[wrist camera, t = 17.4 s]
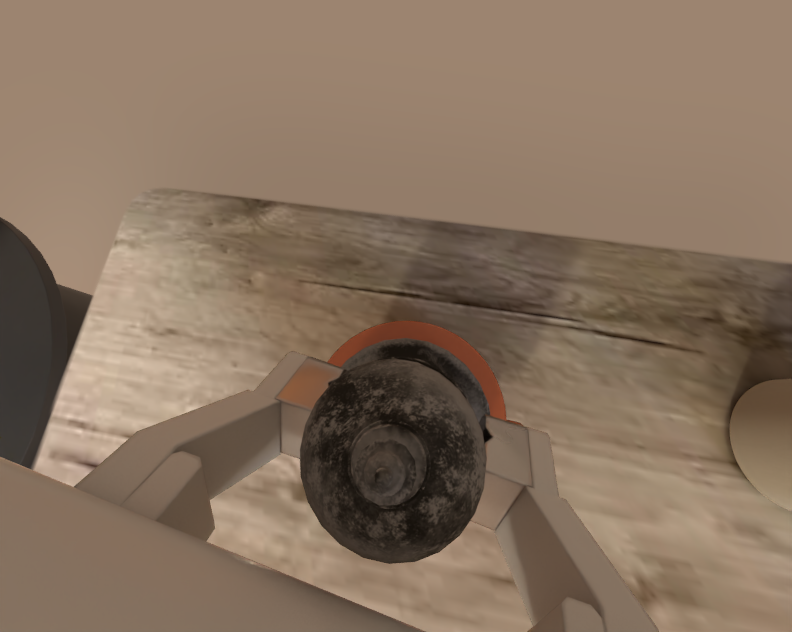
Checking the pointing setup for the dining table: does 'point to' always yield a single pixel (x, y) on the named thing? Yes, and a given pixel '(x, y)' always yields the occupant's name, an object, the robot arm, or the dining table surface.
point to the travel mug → (765, 439)
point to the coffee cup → (433, 336)
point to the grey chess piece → (396, 451)
